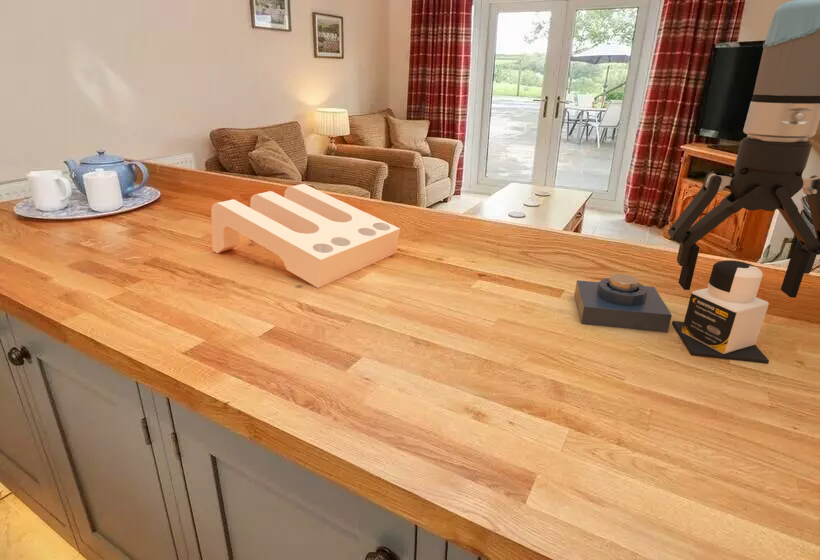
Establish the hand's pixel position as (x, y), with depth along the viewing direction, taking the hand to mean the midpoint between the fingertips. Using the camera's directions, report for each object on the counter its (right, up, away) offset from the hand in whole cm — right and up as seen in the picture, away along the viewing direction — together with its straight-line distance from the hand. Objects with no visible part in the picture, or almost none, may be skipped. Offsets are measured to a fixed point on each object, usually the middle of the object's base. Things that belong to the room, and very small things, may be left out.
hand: (734, 290), depth 71 cm
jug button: (-12, 0, +10) cm, 16 cm away
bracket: (-70, +7, +38) cm, 80 cm away
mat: (-1, -8, +4) cm, 9 cm away
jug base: (-12, -4, +12) cm, 17 cm away
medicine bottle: (-1, -8, +3) cm, 8 cm away
